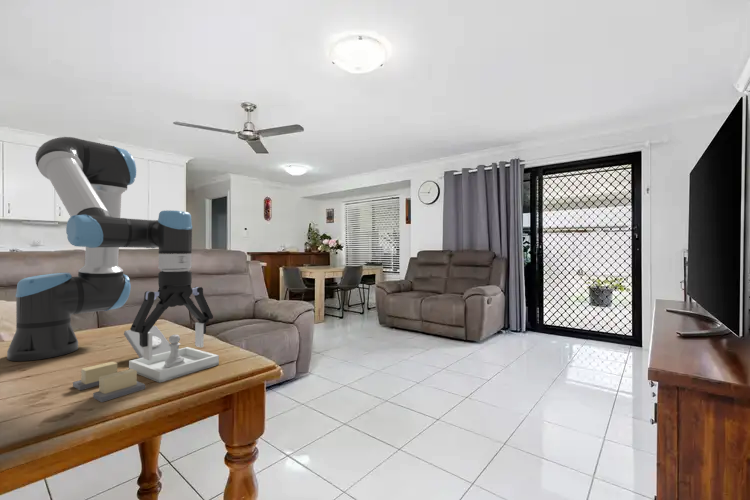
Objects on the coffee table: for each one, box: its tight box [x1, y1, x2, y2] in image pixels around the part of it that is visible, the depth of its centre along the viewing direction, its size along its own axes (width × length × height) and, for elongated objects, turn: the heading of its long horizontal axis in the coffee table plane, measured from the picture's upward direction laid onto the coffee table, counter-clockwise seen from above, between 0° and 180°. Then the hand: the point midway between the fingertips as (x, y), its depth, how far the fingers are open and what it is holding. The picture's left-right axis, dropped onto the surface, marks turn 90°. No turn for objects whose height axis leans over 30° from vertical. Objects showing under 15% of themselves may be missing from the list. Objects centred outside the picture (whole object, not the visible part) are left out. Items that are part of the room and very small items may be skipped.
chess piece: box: [164, 333, 185, 368], centre depth 90 cm, size 5×5×8 cm
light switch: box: [123, 325, 171, 358], centre depth 99 cm, size 8×6×14 cm
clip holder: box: [72, 361, 146, 403], centre depth 77 cm, size 15×8×4 cm, turn 58°
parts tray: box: [128, 346, 220, 384], centre depth 90 cm, size 15×15×2 cm
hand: (175, 352), depth 90 cm, fingers open, 12 cm apart
